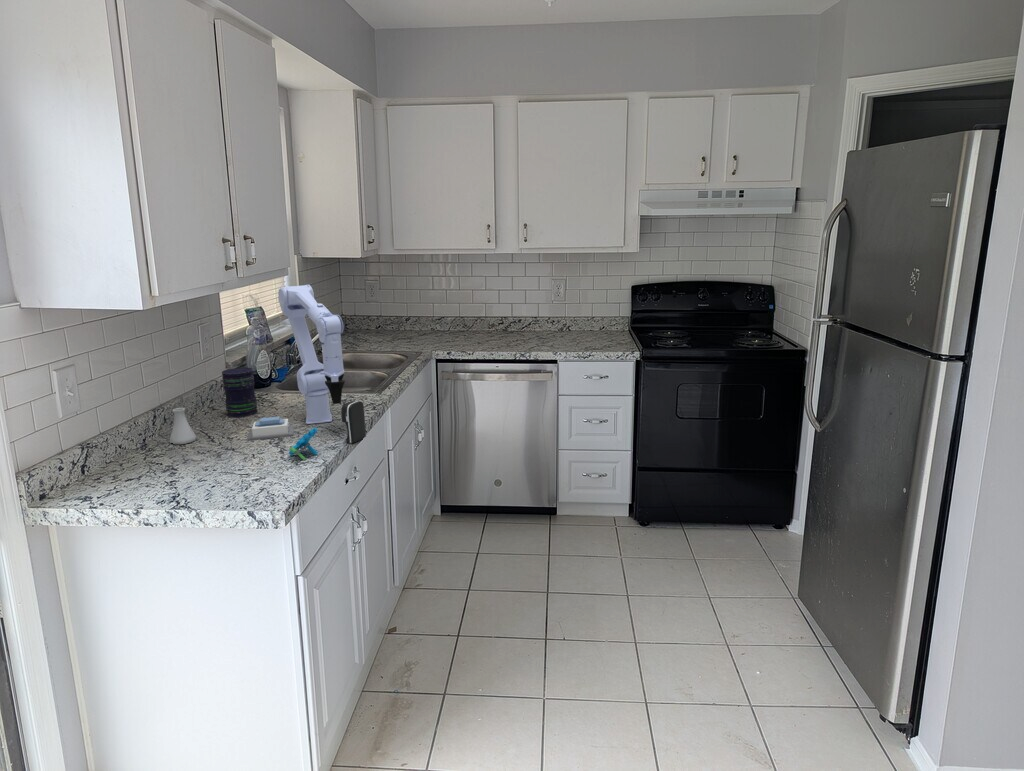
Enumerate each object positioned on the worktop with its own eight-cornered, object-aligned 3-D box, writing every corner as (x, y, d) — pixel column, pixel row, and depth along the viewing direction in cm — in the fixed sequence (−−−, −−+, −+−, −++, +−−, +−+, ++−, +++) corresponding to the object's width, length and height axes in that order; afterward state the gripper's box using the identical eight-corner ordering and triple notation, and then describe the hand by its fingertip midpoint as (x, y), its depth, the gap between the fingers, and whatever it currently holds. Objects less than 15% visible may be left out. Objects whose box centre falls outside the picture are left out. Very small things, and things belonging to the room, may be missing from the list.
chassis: (250, 431, 216) (249, 421, 215) (294, 426, 219) (293, 417, 218) (247, 440, 206) (246, 430, 206) (293, 435, 210) (292, 425, 209)
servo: (257, 431, 213) (255, 418, 212) (285, 428, 215) (284, 416, 214) (256, 434, 210) (254, 421, 209) (285, 431, 212) (283, 419, 211)
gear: (302, 441, 198) (319, 420, 193) (317, 456, 198) (335, 435, 193) (278, 459, 188) (296, 437, 184) (294, 474, 189) (312, 453, 184)
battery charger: (356, 436, 207) (352, 398, 205) (366, 437, 206) (363, 399, 203) (341, 443, 201) (338, 404, 199) (352, 444, 200) (349, 405, 197)
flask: (202, 438, 210) (197, 406, 208) (184, 446, 203) (180, 412, 201) (181, 437, 212) (177, 405, 210) (164, 444, 205) (159, 411, 203)
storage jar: (220, 417, 233) (214, 373, 230) (238, 409, 242) (233, 367, 239) (246, 418, 231) (241, 374, 227) (264, 410, 240) (259, 367, 236)
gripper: (318, 353, 214) (322, 396, 218) (318, 361, 201) (323, 407, 204) (342, 351, 216) (346, 394, 219) (343, 359, 203) (347, 405, 206)
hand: (336, 400), depth 212 cm, fingers open, 7 cm apart
